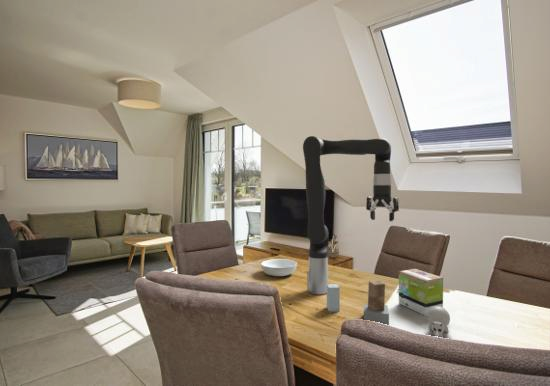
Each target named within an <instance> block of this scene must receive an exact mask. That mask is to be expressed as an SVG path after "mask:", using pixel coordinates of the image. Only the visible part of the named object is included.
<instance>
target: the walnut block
mask: <svg viewBox="0 0 550 386" xmlns="http://www.w3.org/2000/svg"><path fill="white" fill-rule="evenodd" d="M367 290H368V293H367V294H368V295H367V304H368V307H369V308H370V309H371V310H373V311H383V310H384V305H385V301H386V300H385V296H386V284H385V283H384V282H383V281H381V280H369V281H368V289H367Z"/></svg>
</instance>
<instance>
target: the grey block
mask: <svg viewBox="0 0 550 386" xmlns="http://www.w3.org/2000/svg"><path fill="white" fill-rule="evenodd" d="M364 320H370V321H375V322H380V323H383V324H387V325H389V326H390V311H389V307H388V305H386V304H384V310H383V311H373V310H371V309H370V308H369V307H368V303H365V302H364V303H363V321H364Z"/></svg>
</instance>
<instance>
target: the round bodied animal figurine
mask: <svg viewBox="0 0 550 386" xmlns="http://www.w3.org/2000/svg"><path fill="white" fill-rule="evenodd" d="M450 316H451V315H450V313H449V311H448V310H447V309H445V308H444V307H443V308H442V307H439V306H435V307H432V308H431V309H430V310H429V311H428V315H427V316H426V317H427V320H428V322H429V328H430V329H431V330H432V331H433V336H434V337H435V336H438V337H441V338H443V336H444V335H443V334H444V333H447V332H449V325H450V321H451V317H450Z"/></svg>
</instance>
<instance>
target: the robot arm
mask: <svg viewBox="0 0 550 386" xmlns="http://www.w3.org/2000/svg"><path fill="white" fill-rule="evenodd" d="M302 150H303V151H302V152H303V157H304V164H305V194H306V195H305V197H306V204H307V205H306V206H307V214H308V217H307V219H308V220H307V238H308V239H309V250H308V271H307V275H306V276H307V277H306V278H307V279H306V280H307V282H306V283H307V284H306V285H307V292H309V293H310V294H313V295H325V294H326V295H327V284H329V249H330V247H329V243H330V241H329V240H330V238H329V235H330V234H329V229H328V227H327V225H325V220H324V219H325V217H324V215H325V214H324V211H325V205H326V195H327V193H326V182H325V178H324V174H323V171H322V166H321V156H325V155H326V156H327V155H351V156H352V155H353V156H354V155H355V156H356V155H357V156H363V155H364V156H365V155H374V159H375V160H374V165H373V179H372V180H373V181H372V182H373V183H372V184H373V187H372V188H373V189H372V191H373V197H372V196H367V197H366V211H369V212H370V215H369V217H370V219H371V220H372V221H374V220H376V209H377V208H386V209H387V210H388V212H389V214H388V215H389V216H388V218H389V222H394V220H395V212H399V211H400V209H399V198H398V197H392V177H391V154H392V146H391V143H390V142H389V141H388V140H387V139H386V138H373V139H372V138H371V139H359V138H358V139H355V138H354V139H342V140H327V139H322V138H320V137H317V136H313V135H310V136H308V137H306V138H305V139H304V140H303V144H302ZM372 202H374V203H373V204H372ZM391 202H392V204H391Z"/></svg>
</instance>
